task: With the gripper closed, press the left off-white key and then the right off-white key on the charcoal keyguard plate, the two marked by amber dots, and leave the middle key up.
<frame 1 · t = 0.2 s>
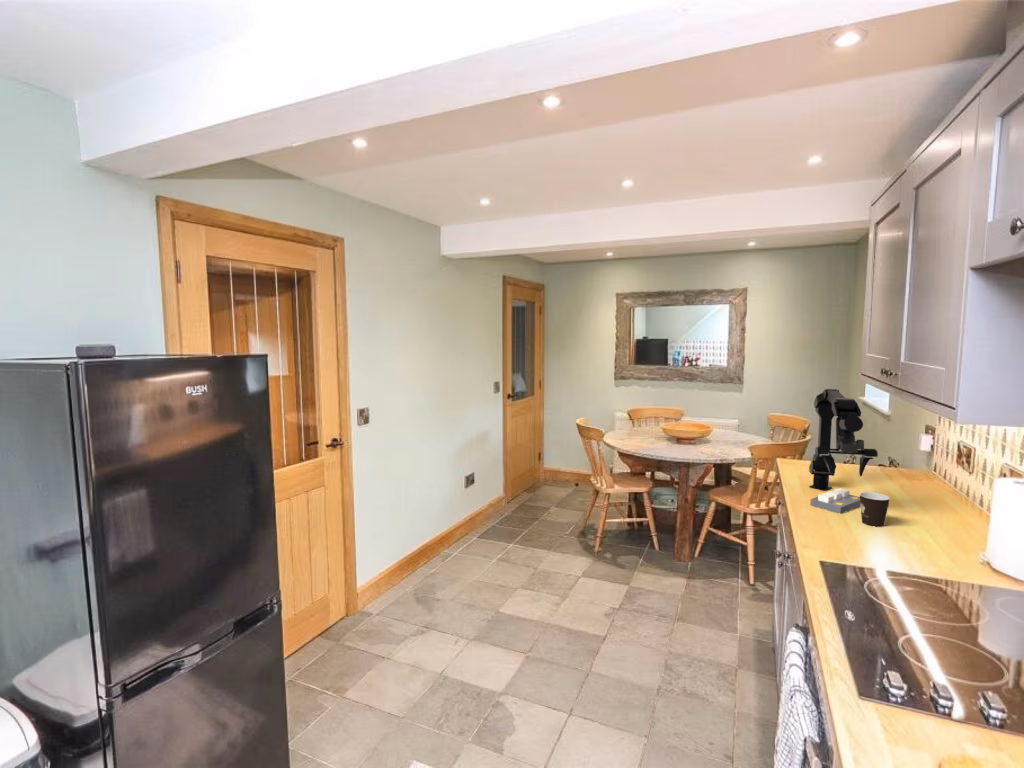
hand: (845, 475, 187), 15 cm above the counter, tool pointing down, fingers open, 9 cm apart
right key: (825, 499, 197), point 3 cm above the counter, slide at 0.0 cm
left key: (841, 493, 203), point 3 cm above the counter, slide at 0.0 cm
coffee mug: (873, 522, 181), on the counter
middle key: (833, 496, 200), point 3 cm above the counter, slide at 0.0 cm
keyguard plate: (837, 504, 199), on the counter
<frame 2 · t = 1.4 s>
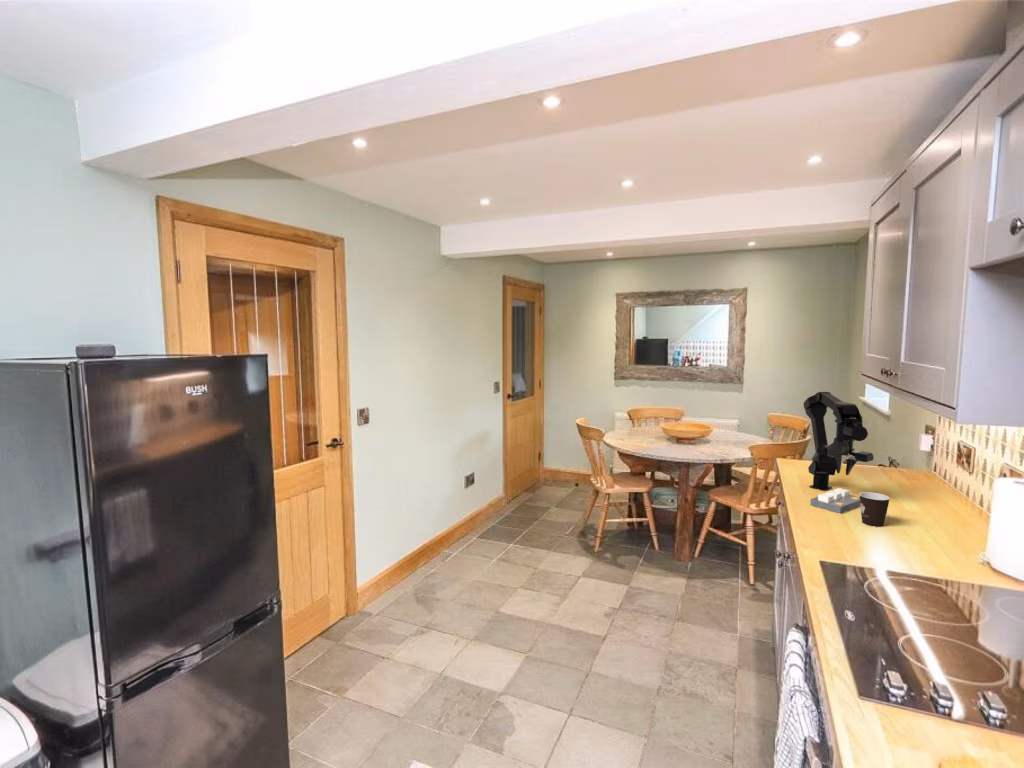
hand: (842, 474, 202), 11 cm above the counter, tool pointing down, fingers open, 3 cm apart
nothing on the counter moved.
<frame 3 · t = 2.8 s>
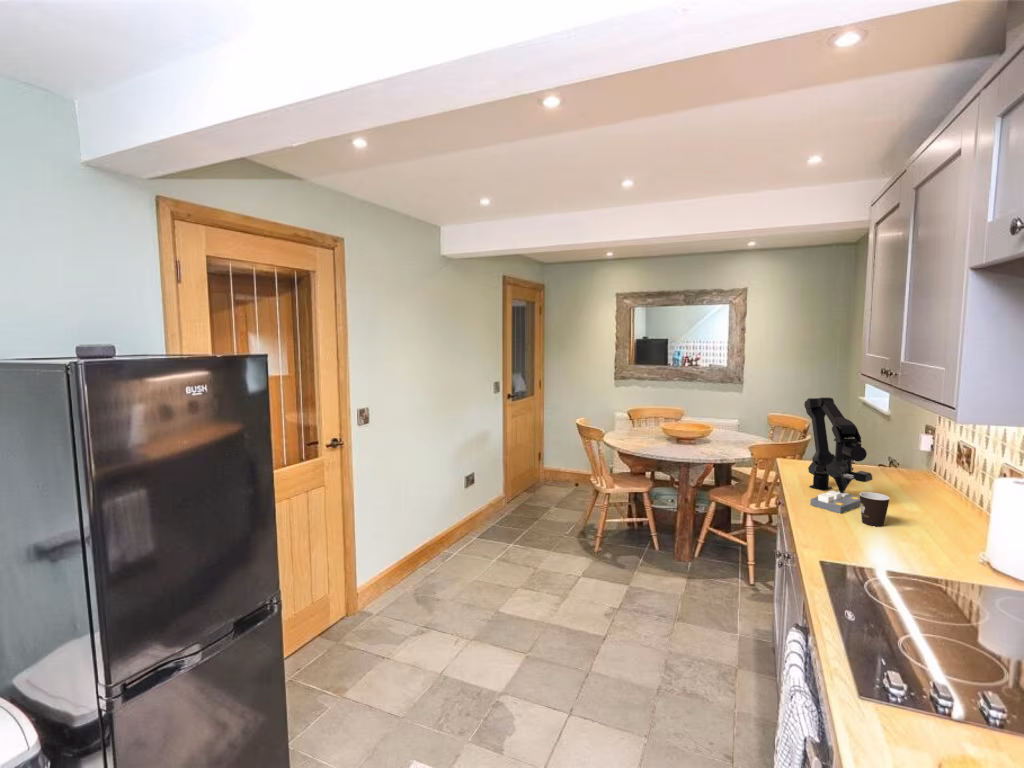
hand: (841, 493, 203), 3 cm above the counter, tool pointing down, fingers closed, pressing on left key
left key: (841, 496, 203), point 2 cm above the counter, slide at 1.2 cm, touching gripper
everything else where it was.
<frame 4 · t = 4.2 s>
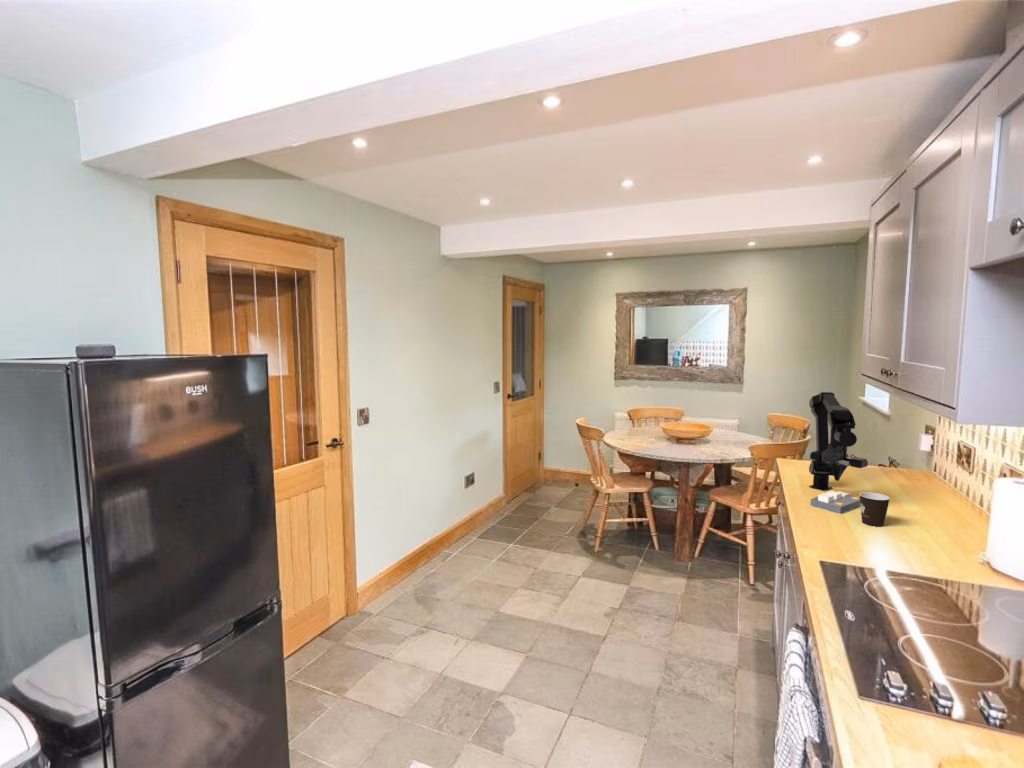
hand: (837, 480, 199), 9 cm above the counter, tool pointing down, fingers closed
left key: (841, 496, 203), point 2 cm above the counter, slide at 1.3 cm
everything else where it was.
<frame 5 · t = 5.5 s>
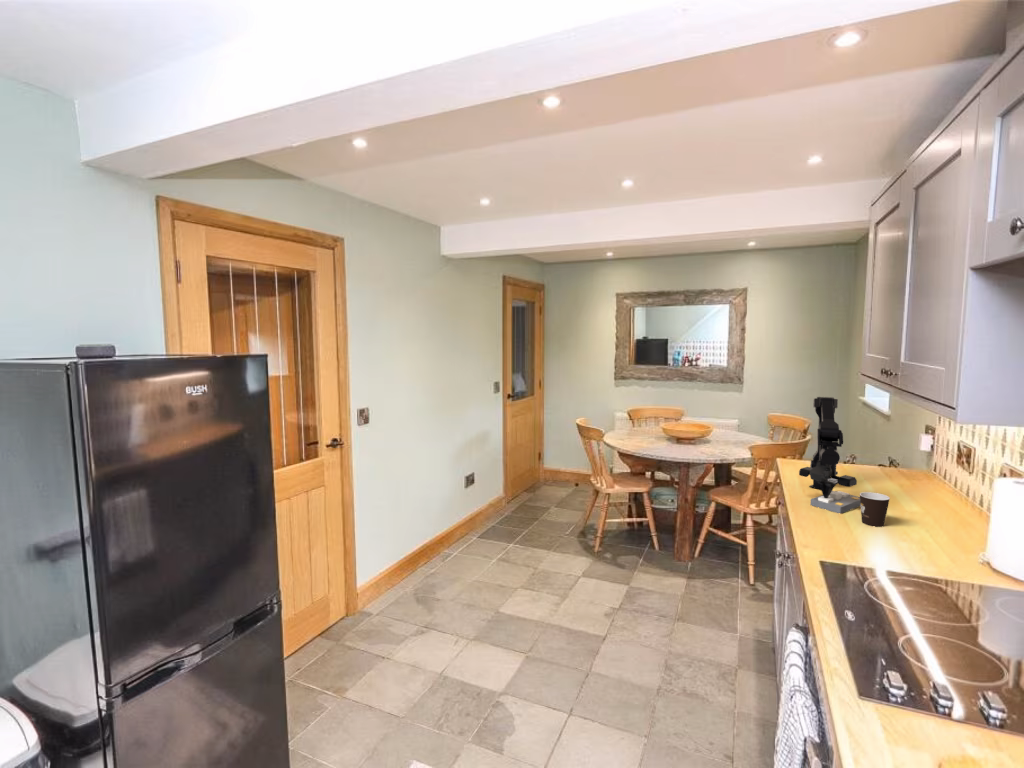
hand: (825, 498, 197), 3 cm above the counter, tool pointing down, fingers closed, pressing on right key
right key: (825, 501, 197), point 2 cm above the counter, slide at 1.1 cm, touching gripper
everything else where it was.
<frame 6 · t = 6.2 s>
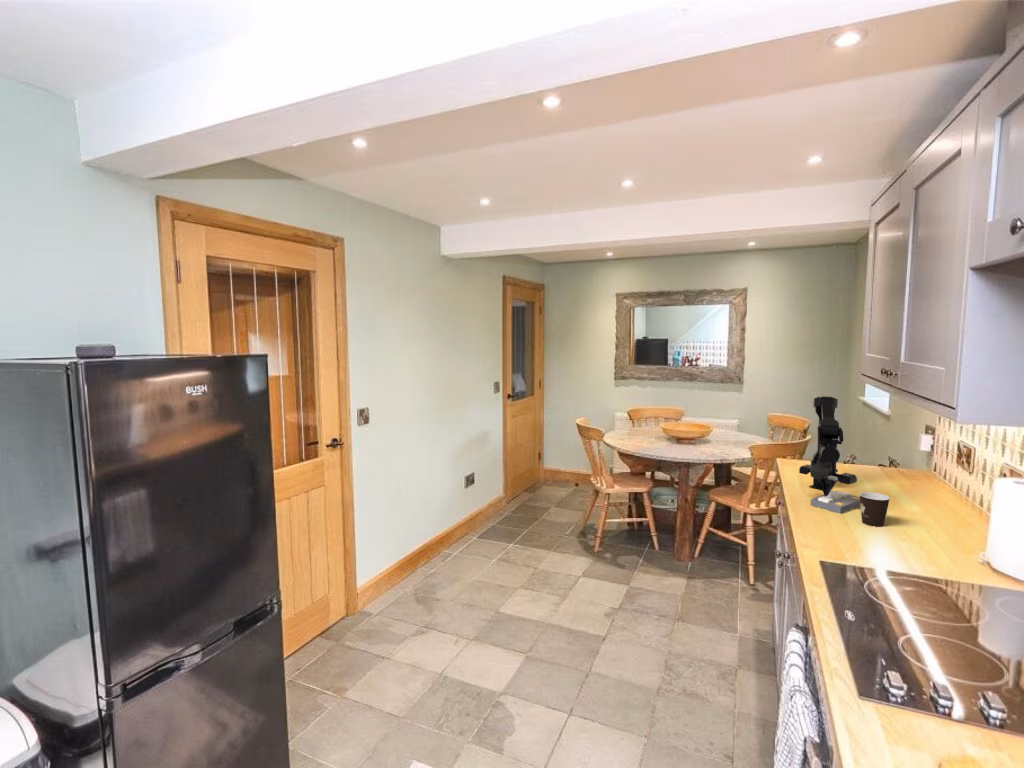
hand: (826, 495, 197), 4 cm above the counter, tool pointing down, fingers closed
right key: (825, 502, 197), point 2 cm above the counter, slide at 1.3 cm
everything else where it was.
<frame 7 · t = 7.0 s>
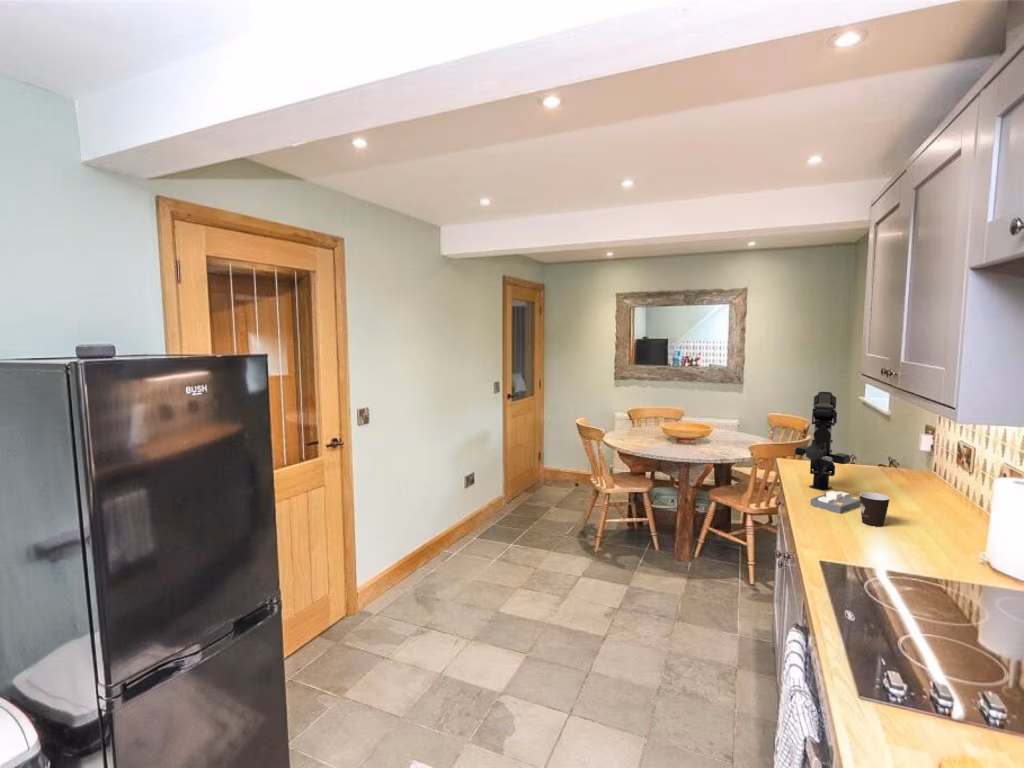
hand: (820, 475, 203), 10 cm above the counter, tool pointing down, fingers closed
nothing on the counter moved.
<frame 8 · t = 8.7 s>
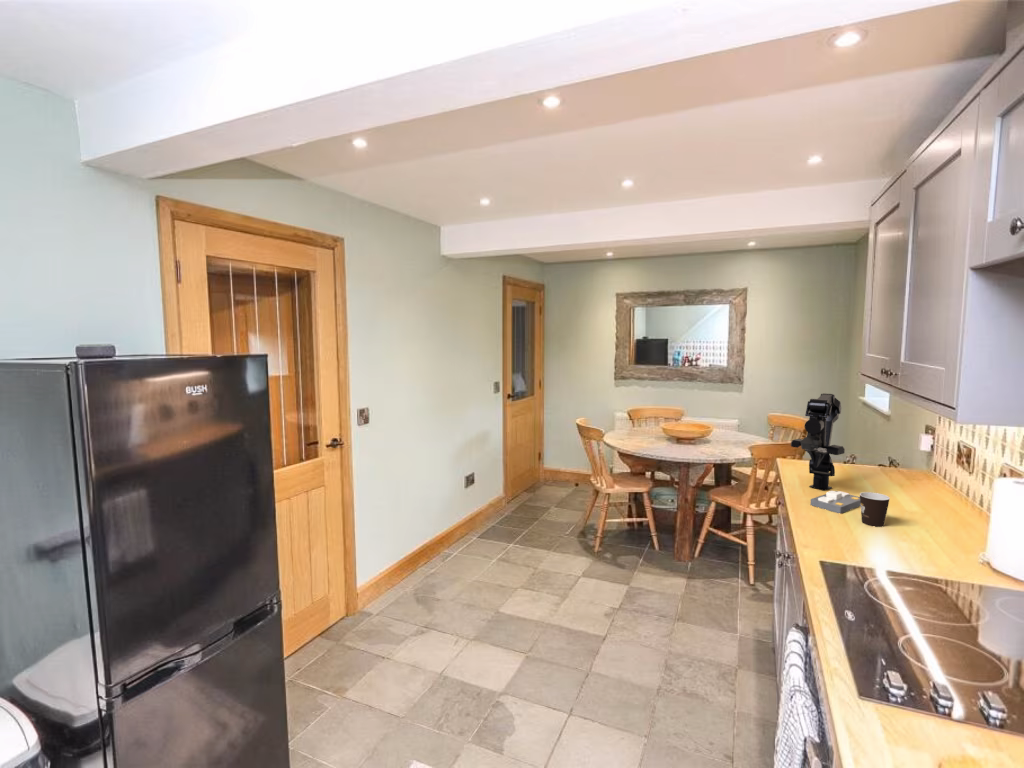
hand: (815, 467, 209), 12 cm above the counter, tool pointing down, fingers closed
nothing on the counter moved.
at the end: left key slide at 1.3 cm; right key slide at 1.3 cm; middle key slide at 0.0 cm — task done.
